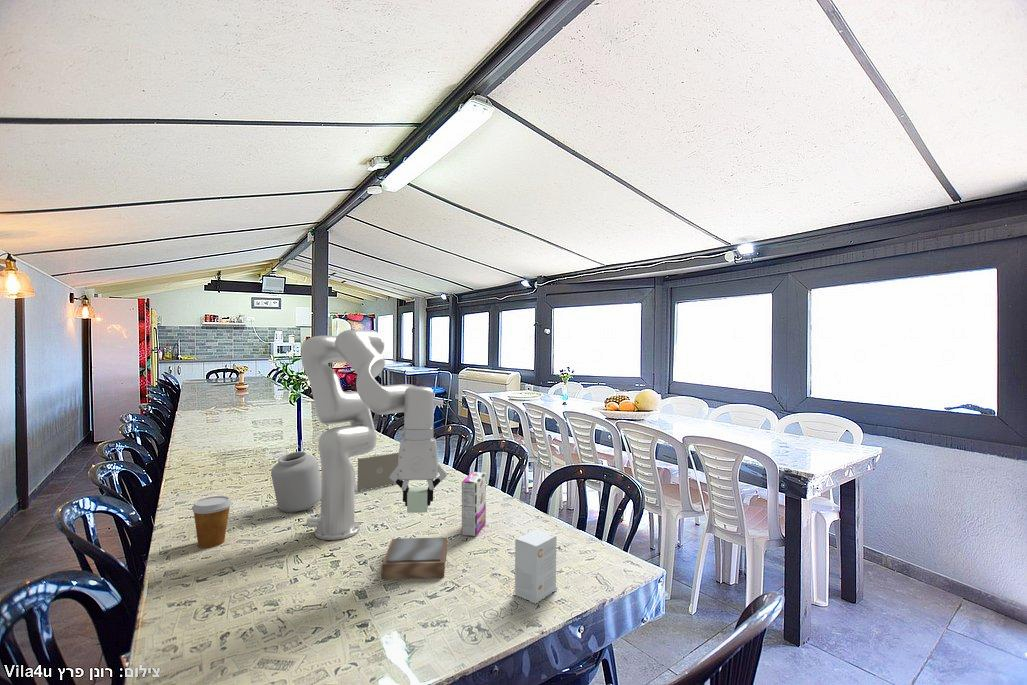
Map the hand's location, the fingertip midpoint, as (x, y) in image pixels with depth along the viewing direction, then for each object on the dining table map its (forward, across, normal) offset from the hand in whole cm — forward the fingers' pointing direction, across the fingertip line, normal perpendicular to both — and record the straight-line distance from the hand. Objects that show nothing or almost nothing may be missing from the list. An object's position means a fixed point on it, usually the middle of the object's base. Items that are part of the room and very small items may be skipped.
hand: (418, 503), depth 122 cm
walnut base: (+16, 0, 0) cm, 16 cm away
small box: (+16, +29, -16) cm, 37 cm away
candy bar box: (+16, +15, +22) cm, 31 cm away
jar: (+15, -46, +43) cm, 65 cm away
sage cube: (+2, 0, 0) cm, 2 cm away
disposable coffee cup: (+15, -59, +16) cm, 63 cm away
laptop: (+16, -26, +71) cm, 77 cm away
